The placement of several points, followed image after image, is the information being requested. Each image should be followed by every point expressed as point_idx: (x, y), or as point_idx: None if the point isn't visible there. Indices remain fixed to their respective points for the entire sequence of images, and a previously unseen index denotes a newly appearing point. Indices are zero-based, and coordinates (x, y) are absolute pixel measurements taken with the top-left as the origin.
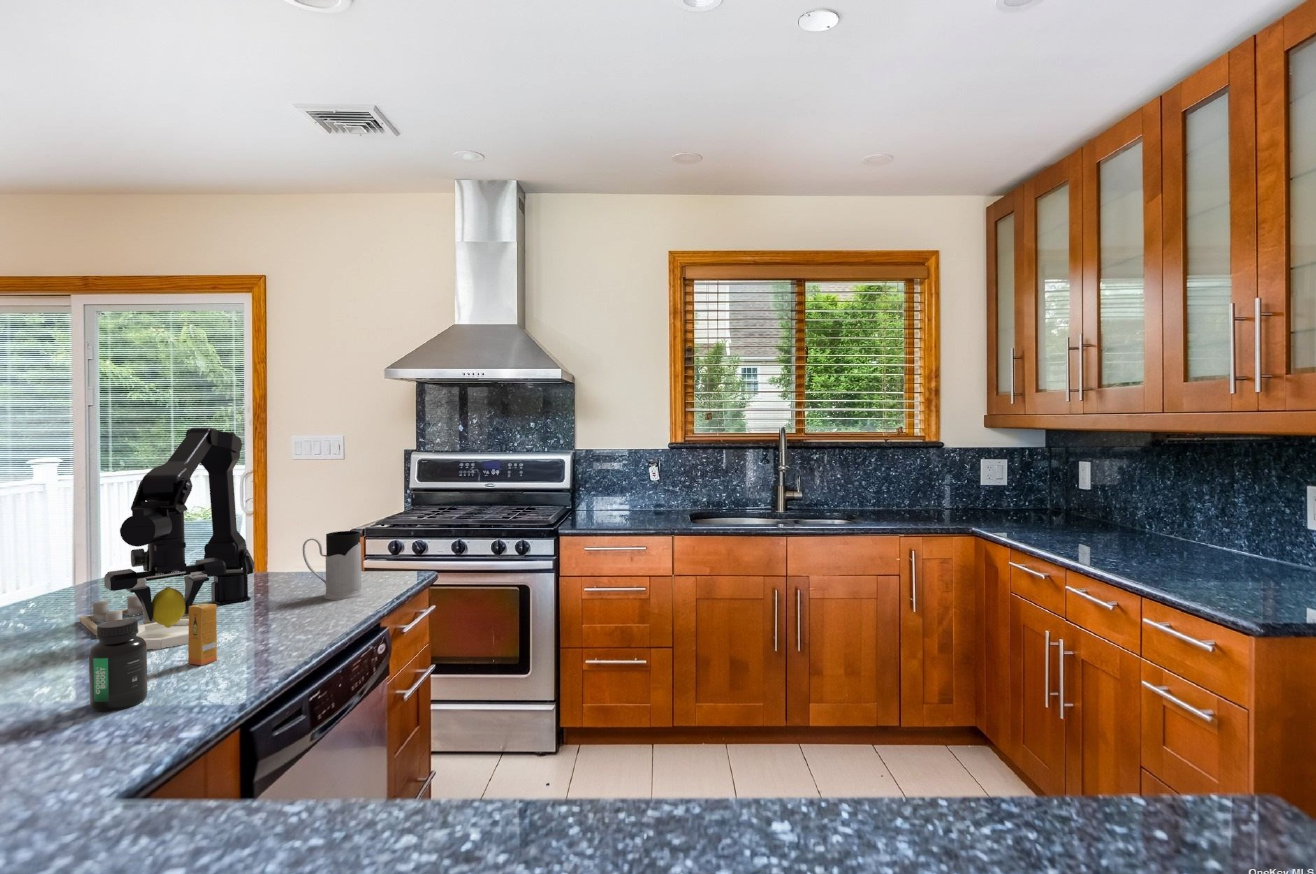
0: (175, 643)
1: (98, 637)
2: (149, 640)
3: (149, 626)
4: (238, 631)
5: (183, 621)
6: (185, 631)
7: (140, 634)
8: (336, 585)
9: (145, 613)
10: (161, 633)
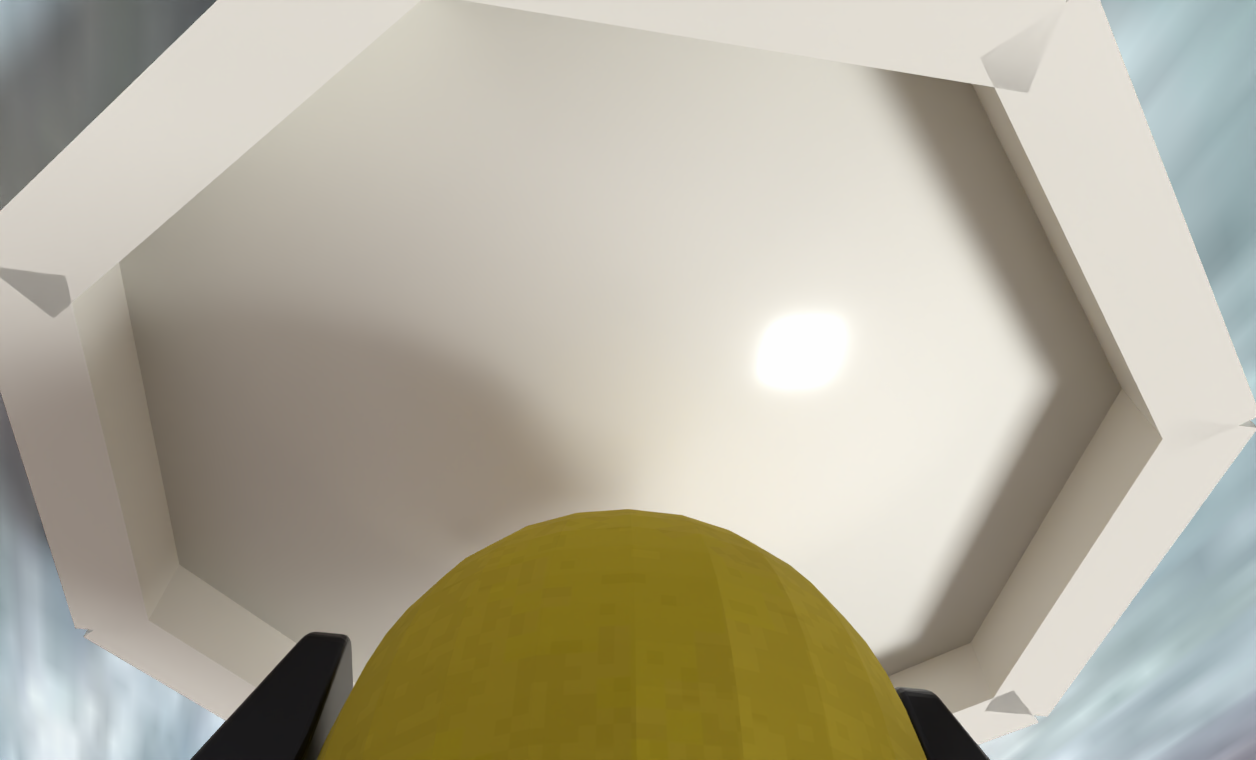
0: None
1: None
2: None
3: (520, 3)
4: (1119, 727)
5: (1053, 218)
6: (793, 538)
7: (324, 178)
8: None
9: (210, 748)
10: (568, 388)
